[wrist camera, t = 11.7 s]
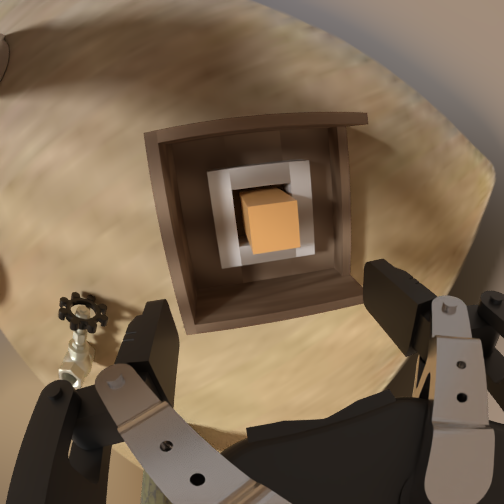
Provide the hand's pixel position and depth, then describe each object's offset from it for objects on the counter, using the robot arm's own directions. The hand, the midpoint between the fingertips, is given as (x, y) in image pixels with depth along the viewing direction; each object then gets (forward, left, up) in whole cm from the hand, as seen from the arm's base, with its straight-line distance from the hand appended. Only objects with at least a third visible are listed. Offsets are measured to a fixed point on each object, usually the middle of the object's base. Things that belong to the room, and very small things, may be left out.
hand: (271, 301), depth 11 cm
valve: (+13, -23, -21) cm, 33 cm away
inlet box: (+1, +3, -20) cm, 21 cm away
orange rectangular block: (+1, +3, -20) cm, 21 cm away
